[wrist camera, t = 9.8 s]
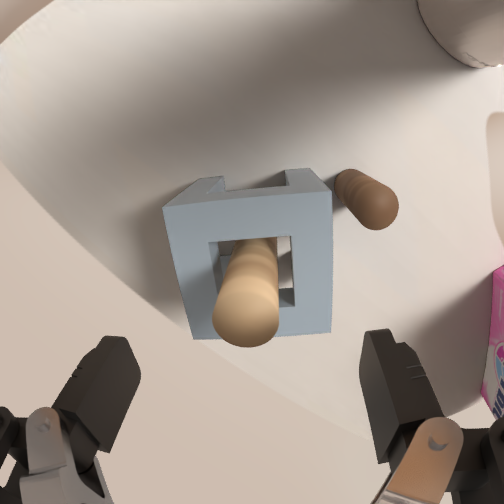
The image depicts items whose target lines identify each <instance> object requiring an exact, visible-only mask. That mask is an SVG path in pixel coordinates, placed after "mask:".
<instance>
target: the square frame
mask: <svg viewBox="0 0 504 504" xmlns="http://www.w3.org/2000/svg"><path fill="white" fill-rule="evenodd" d="M285 179H286V186H278V187H266V188H255V189H244V190H234V191H225V184H224V177H223V176H218V177H210V178H202V179H198V180H197V181H196V182H194V183H193V184H192V185H190V186H189V187H188V188H186V189H185V190H184V191H182V192H181V193H180V194H178V195H177V196H176V197H175V198H173V199H172V200H171V201H169V202H168V203H167V204H166V205H164V206H163V207H162V210H163V215H164V220H165V225H166V230H167V235H168V239H169V244H170V248H171V253H172V257H173V262H174V266H175V270H176V275H177V279H178V283H179V287H180V291H181V295H182V299H183V303H184V307H185V310H186V314H187V318H188V322H189V325H190V329H191V332H192V336H193V339H194V340H195V339H222V338H221V337H220V336H219V335H218V334H217V332H216V331H215V329H214V327H213V323H212V314H213V311H214V307H215V304H216V301H217V298H218V295H219V291H220V288H221V285H222V282H223V279H224V276H225V273H226V269H227V266H228V263H229V260H230V257H231V255H225V256H220V255H219V249H218V243H217V241H229V240H241V239H253V238H266V237H278V236H290V246H291V261H292V279H293V288H282V289H278V294H279V327H278V330H277V332H276V334H275V335H274V337H281V336H296V335H308V334H320V333H330V332H331V321H332V292H333V217H332V191H331V190H330V189H329V188H328V187H327V186H326V185H325V184H324V182H323V181H322V180H321V179H320V178H319V177H318V176H317V175H316V174H315V173H314V172H313V171H312V170H311V169H310V168H306V169H291V170H285Z"/></svg>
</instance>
